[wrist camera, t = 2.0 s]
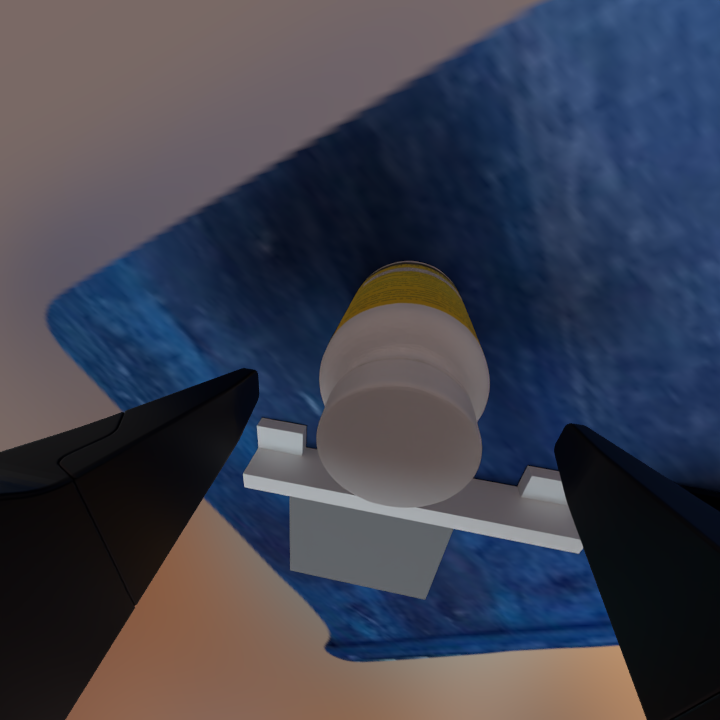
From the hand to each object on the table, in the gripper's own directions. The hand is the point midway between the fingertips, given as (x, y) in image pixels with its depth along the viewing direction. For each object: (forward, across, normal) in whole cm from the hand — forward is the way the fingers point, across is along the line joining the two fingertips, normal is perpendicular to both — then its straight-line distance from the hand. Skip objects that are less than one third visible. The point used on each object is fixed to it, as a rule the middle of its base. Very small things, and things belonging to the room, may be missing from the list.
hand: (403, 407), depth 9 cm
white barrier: (+8, -2, +11) cm, 14 cm away
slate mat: (+8, 0, +20) cm, 21 cm away
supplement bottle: (+8, 0, 0) cm, 8 cm away
